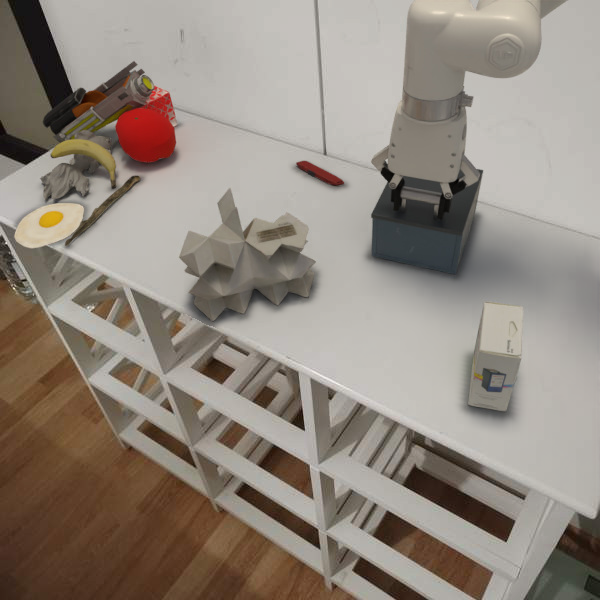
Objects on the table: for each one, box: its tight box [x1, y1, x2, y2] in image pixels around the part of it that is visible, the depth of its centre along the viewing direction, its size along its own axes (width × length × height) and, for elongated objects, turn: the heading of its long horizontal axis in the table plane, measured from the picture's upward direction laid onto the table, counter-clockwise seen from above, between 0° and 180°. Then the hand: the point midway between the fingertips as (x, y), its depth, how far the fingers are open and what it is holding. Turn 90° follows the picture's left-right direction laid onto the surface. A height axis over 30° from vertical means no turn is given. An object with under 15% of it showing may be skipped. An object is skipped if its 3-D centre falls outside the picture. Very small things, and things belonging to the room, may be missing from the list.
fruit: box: [50, 139, 117, 189], centre depth 114 cm, size 7×13×3 cm
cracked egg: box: [13, 202, 85, 249], centre depth 108 cm, size 13×12×1 cm
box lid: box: [370, 168, 484, 236], centre depth 90 cm, size 16×14×5 cm
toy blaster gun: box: [42, 60, 155, 143], centre depth 121 cm, size 9×26×10 cm
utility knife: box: [295, 160, 345, 186], centre depth 112 cm, size 12×1×2 cm
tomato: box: [114, 108, 177, 164], centre depth 118 cm, size 11×13×10 cm
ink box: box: [467, 301, 524, 412], centre depth 74 cm, size 9×5×12 cm, turn 164°
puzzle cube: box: [140, 84, 179, 128], centre depth 127 cm, size 8×8×8 cm
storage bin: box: [371, 176, 483, 275], centre depth 96 cm, size 16×14×9 cm
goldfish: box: [39, 130, 112, 201], centre depth 118 cm, size 20×10×9 cm
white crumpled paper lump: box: [178, 187, 317, 322], centre depth 91 cm, size 23×19×15 cm
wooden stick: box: [64, 174, 141, 247], centre depth 109 cm, size 2×23×2 cm, turn 155°
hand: (419, 208), depth 87 cm, fingers closed on box lid, 6 cm apart
